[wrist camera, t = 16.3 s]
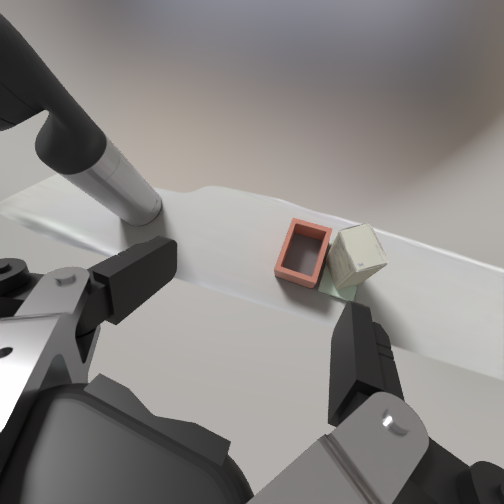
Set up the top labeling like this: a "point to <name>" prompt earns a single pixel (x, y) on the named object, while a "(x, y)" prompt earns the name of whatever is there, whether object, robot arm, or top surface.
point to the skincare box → (355, 256)
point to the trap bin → (302, 253)
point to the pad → (329, 287)
